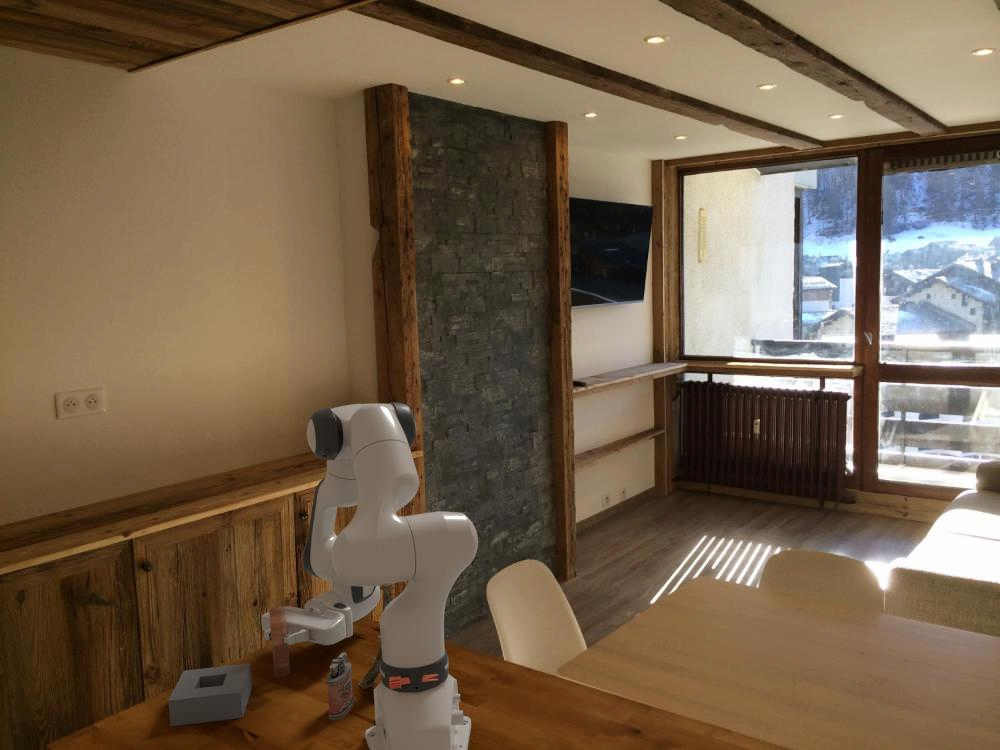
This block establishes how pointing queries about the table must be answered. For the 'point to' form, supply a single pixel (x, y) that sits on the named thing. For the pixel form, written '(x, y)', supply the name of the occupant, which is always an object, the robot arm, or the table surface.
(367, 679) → the eiffel tower
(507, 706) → the table surface
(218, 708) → the holder
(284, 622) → the peg
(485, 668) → the table surface
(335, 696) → the lighter
